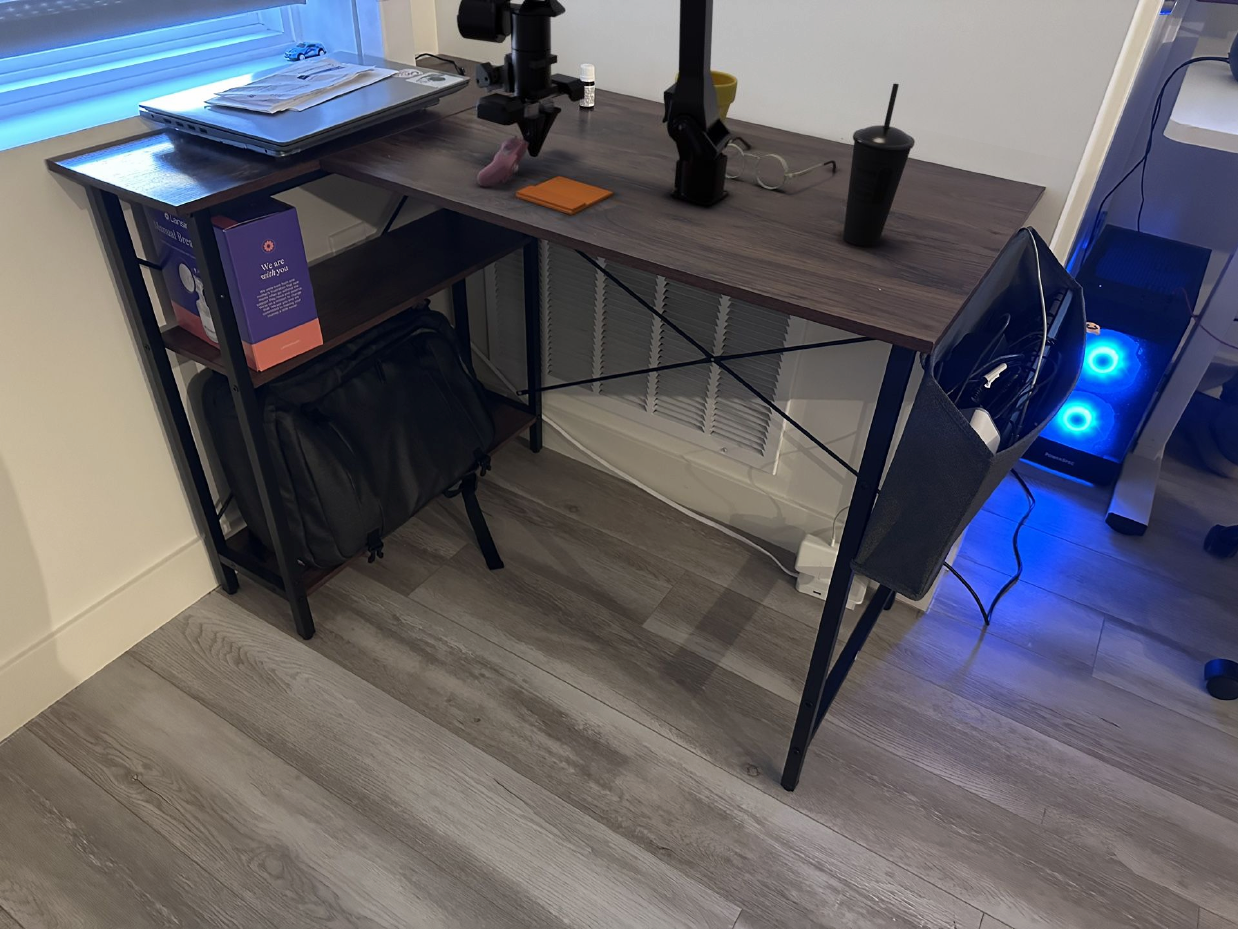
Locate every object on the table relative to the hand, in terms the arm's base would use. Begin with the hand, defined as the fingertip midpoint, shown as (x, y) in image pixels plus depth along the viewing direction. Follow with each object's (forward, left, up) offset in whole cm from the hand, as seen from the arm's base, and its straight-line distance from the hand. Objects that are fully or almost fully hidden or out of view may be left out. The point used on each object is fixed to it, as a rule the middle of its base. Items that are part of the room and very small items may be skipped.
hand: (533, 156), depth 135 cm
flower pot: (-12, -31, -2) cm, 33 cm away
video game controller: (0, +7, -2) cm, 7 cm away
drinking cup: (-51, -8, -2) cm, 52 cm away
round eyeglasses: (-29, -24, -2) cm, 37 cm away
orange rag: (-11, +6, -2) cm, 13 cm away
